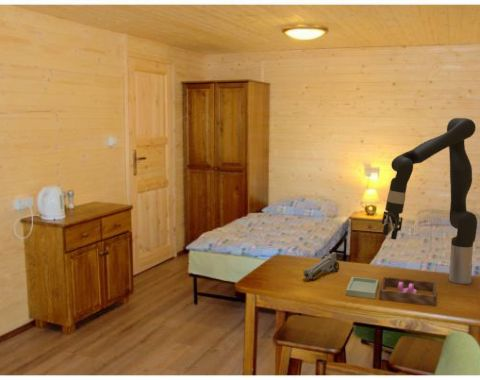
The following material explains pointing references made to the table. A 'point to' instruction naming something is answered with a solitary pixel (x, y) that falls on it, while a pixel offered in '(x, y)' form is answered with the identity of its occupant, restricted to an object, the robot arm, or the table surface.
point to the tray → (362, 287)
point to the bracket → (408, 290)
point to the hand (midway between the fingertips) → (389, 236)
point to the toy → (322, 267)
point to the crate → (406, 296)
